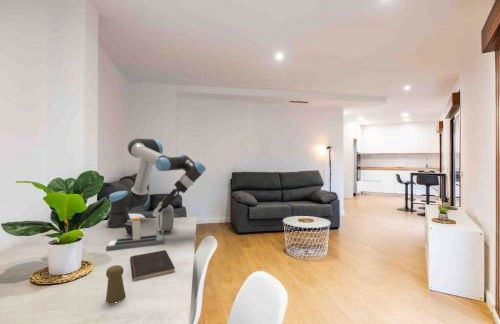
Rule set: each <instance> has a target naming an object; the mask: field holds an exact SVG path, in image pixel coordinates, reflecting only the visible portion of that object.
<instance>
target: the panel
mask: <svg viewBox="0 0 500 324" xmlns="http://www.w3.org/2000/svg"><path fill="white" fill-rule="evenodd" d="M156 245H157V246H159V245H165V235H164V234H161V235H157V234H152V235H143V236H141V239H140V240H134V241H133V236H131V237H126V238H125V237H124V238H117V239H116V240H110V241H109V242H108V243H107V245H106V247H105V251H106V252H109V251H116V250H126V249H134V248H135V249H136V248H143V247H150V246H151V247H153V246H156Z"/></svg>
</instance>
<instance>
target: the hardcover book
mask: <svg viewBox="0 0 500 324" xmlns="http://www.w3.org/2000/svg"><path fill="white" fill-rule="evenodd" d="M129 260H130V268H131V277H132V282H134V281H139V280H143V279H148V278H153V277H157V276H161V275H166V274H171V273H174V272H175V269H176V267H175V265H174V263H173V262H172V260H171V257H170V256H169V254H168V252H167V250H166V249H164V250H158V251H152V252H147V253H143V254H137V255H131V256H130V257H129Z"/></svg>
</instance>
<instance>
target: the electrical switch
mask: <svg viewBox="0 0 500 324" xmlns="http://www.w3.org/2000/svg"><path fill="white" fill-rule="evenodd" d="M124 226H125V227H124V229H125V232H126V235H128V236H130V237H133V229H132V219H131V220H127V222H126V223H125V224H124ZM141 232H142V231H140V234H141ZM141 235H142V234H141Z"/></svg>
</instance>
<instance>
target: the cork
mask: <svg viewBox="0 0 500 324" xmlns="http://www.w3.org/2000/svg"><path fill="white" fill-rule="evenodd" d="M123 274H124V267H123V266H122V265H119V264H118V265H117V264H116V265H112V266H109V267H108V268H107V269H106V272H105V276H106V278H107V287H106V296H105V303H106V302H108V303H115V302H118V303H120V302H119V301H121V300H122V301H124V300H125V299H126V291H125V286H124V285H125V284H124V279H123ZM123 299H124V300H123ZM122 301H121V302H122ZM108 303H107V304H108ZM115 304H116V303H115Z"/></svg>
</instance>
